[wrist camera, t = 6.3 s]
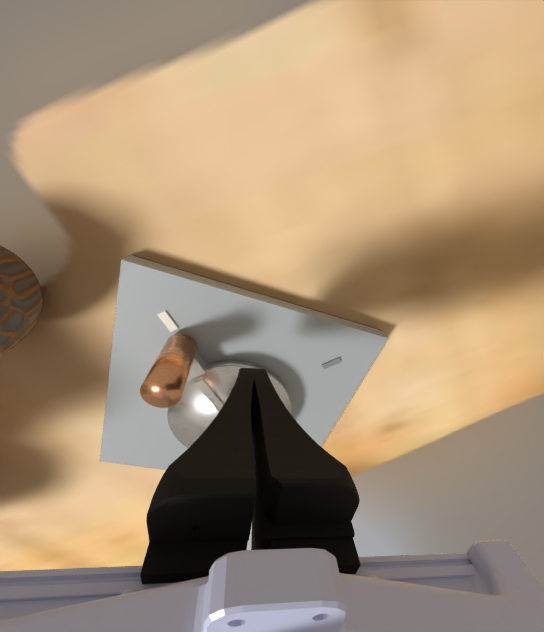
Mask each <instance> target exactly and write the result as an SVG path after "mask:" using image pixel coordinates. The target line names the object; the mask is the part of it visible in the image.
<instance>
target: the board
mask: <svg viewBox="0 0 544 632" xmlns="http://www.w3.org/2000/svg"><path fill="white" fill-rule="evenodd" d="M178 333H182V334H187V335H189V336H191V337H192V338H193V339H194V340H195V342H196V344H197V351H196V352H197V353H198V355H199V356H200V357H201V359H202V360H203V361H204V362H205V364H206V363H210V362H214V361H219V360H230V359H233V360H244V361H249V362H253V363H256V364H259V365H261V366H264V367H265V368H267V369H269V370H271V371H272V372H273V373H275V374H276V375H277V376H278V377H279V378H280V379H281V380H282V382H283V383H284V384H285V386H286V388H287V390H288V393H289V397H290V402H291V407H292V416H293V418H294V419H295V420H296V421H297V423H298V424H299V425H300V426H301V427H302V428H303V429H304V431H305V432H306V433H307V434H308V435H309V436H310V437H311V438H312V439H313V440H314V441H315V442H316V443H317V444H318V445H319V446H322V445H323V443H324V442H325V440H326V438H327V437H328V435H329V433H330V432H331V430H332V429H333V427H334V425H335V424H336V422H337V421H338V419H339V417H340V416H341V414H342V412H343V411H344V409H345V408H346V406H347V404H348V403H349V401H350V400H351V398H352V396H353V395H354V393H355V391H356V390H357V388H358V387H359V385H360V383H361V382H362V380H363V379H364V377H365V375H366V374H367V372H368V370H369V369H370V367H371V366H372V364H373V362H374V361H375V359H376V358H377V356H378V354H379V353H380V351H381V350H382V348H383V346H384V345H385V343H386V341H387V340H388V337H387V336H386V335H385V334H384V333H383V332H382V331H381V330H378V329H375V328H372V327H368V326H365V325H362V324H358V323H355V322H352V321H348V320H345V319H342V318H338V317H335V316H332V315H328V314H325V313H322V312H318V311H315V310H312V309H308V308H305V307H302V306H298V305H295V304H292V303H289V302H285V301H282V300H279V299H275V298H272V297H269V296H265V295H262V294H259V293H255V292H252V291H249V290H245V289H242V288H239V287H235V286H232V285H229V284H225V283H222V282H219V281H215V280H212V279H209V278H205V277H202V276H199V275H195V274H192V273H189V272H186V271H182V270H179V269H176V268H172V267H169V266H166V265H162V264H159V263H156V262H152V261H149V260H146V259H142V258H139V257H136V256H132V255H129V256H127V257H125V258H123V259H121V267H120V276H119V285H118V295H117V304H116V313H115V323H114V332H113V342H112V351H111V360H110V370H109V379H108V389H107V398H106V407H105V417H104V426H103V435H102V445H101V454H100V461H103V462H110V463H117V464H125V465H132V466H140V467H147V468H154V469H162V470H167V468H168V466H169V465H170V464H171V463H173V462H174V461H175V460H176V459H177V458H178V457H179V456H180V455H182V454H183V453H184V452H185V451H186V450H187V449H188V448H187V447H185V446H184V445H183V444H182V443H180V442H179V441H178V440H177V438H176V437H175V436H174V434H173V433H172V431H171V429H170V427H169V424H168V419H167V411H168V408H158V407H154V406H152V405H150V404H148V403H146V402H145V401H144V400H143V398H142V397H141V394H140V388H141V385H142V383H143V382H144V380H145V378H146V376H147V375H148V373H149V371H150V369H151V367H152V366H153V364H154V362H155V360H156V359H157V357H158V355H159V353H160V351H161V350H162V348H163V346H164V344H165V343H166V341H167V339H168V338H169V337H170V336H172V335H174V334H178Z"/></svg>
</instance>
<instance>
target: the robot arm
mask: <svg viewBox="0 0 544 632" xmlns="http://www.w3.org/2000/svg"><path fill="white" fill-rule="evenodd" d="M358 504H359V495H358V492H357V489H356V487H355V484H354V482H353V480H352V478H351V476H350V474H349V472H348V470H347V468H346V466H344V465H343V464H342V463H340V462H339V461H338V460H337V459H335V458H334V457H333V456H331V455H330V454H329V453H328V452H326V451H325V450H324V449H323V448H322V447H321V446H319V445H318V444H317V443H316V442H315V441H314V440H313V439H312V438H311V437H310V436H309V435H308V434H307V433H306V432H305V431H304V429H303V428H302V427H301V426H300V425H299V424H298V423H297V421H296V420H295V419H294V418H293V416H292V415H291V414H290V412H289V411H288V409H287V408H286V406H285V405H284V403H283V402H282V400H281V399H280V397H279V395H278V394H277V392H276V390H275V388H274V386H273V384H272V382H271V380H270V378H269V376H268V374H267V371H266V370H265V369H258V368H240V369H239V373H238V377H237V380H236V382H235V384H234V387H233V389H232V391H231V393H230V395H229V397H228V398H227V400H226V402H225V403H224V405H223V407H222V408H221V410H220V411H219V413H218V414H217V416H216V417H215V418H214V420H213V421H212V422H211V423H210V425H209V426H208V427H207V428H206V430H205V431H204V432H203V433H202V434H201V435H200V437H199V438H198V439H197V440H196V441H195V442H194V443H193V444H192V445H191V446H190V447H189V448H188V449H187V450H186V451H185V452H184V453H183V454H182V455H180V456H179V457H178V458H177V459H176V460H175V461H174V462H173V463H171V464H170V465H169V466H168V468H167V470H166V471H165V473H164V475H163V477H162V478H161V480H160V482H159V484H158V486H157V488H156V491H155V493H154V495H153V498H152V501H151V504H150V507H149V510H148V513H147V528H148V535H149V546H148V549H147V553H146V556H145V560H144V563H143V566H124V567H99V568H74V569H49V570H24V571H0V632H544V588H543V587H542V586H541V584H540V583H539V581H538V580H537V579H536V578H535V576H534V575H533V573H532V572H531V571H530V569H529V568H528V567H527V565H526V564H525V563H524V561H523V560H522V559H521V557H520V556H519V555H518V553H517V552H516V551H515V549H514V548H513V547H512V545H511V544H510V543H509V541H507V540H487V541H486V540H484V541H478V542H476V543H474V544H472V545H471V546H470V547H469V549H468V551H467V553H451V554H426V555H400V556H374V557H358V554H357V550H356V547H355V544H354V540H353V537H354V529H353V526H352V523H351V520H352V518H353V516H354V513H355V511H356V509H357V507H358ZM251 523H252V549H251V550H246V548H247V542H248V540H249V535H250V529H251Z"/></svg>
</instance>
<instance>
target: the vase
mask: <svg viewBox="0 0 544 632" xmlns="http://www.w3.org/2000/svg"><path fill="white" fill-rule="evenodd" d="M42 303H43V300H42V290H41V287H40V284H39V282H38V280H37V278H36V276H35V274H34V273H33V272H32V270H31V269H30V268H29V267H28V266H27V264H25V262H24V261H22V260H21V259H20V258H19V257H18V256H17V255H15V254H14V253H12V252H11V251H9V250H7V249H6V248H4V247H2V246H0V355H2V354H4V353H5V352H6V351H8V350H9V349H11V348H12V347H14V346H15V345H16V344H17V343H19V342H20V341H21V340H22V339H23V338H24V337H25V336H26V335H27V334H28V333H29V332H30V330H31V329H32V328H33V326H34V325H35V323H36V322H37V320H38V318H39V315H40V313H41V310H42Z"/></svg>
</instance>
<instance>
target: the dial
mask: <svg viewBox="0 0 544 632" xmlns="http://www.w3.org/2000/svg"><path fill="white" fill-rule="evenodd" d="M196 351H197V344H196V342H195V340H194V339H193V338H192V337H191V336H189V335H187V334H182V333H178V334H174V335H172V336H170V337H169V338H168V339H167V341H166V343H165V344H164V346H163V348H162V350H161V351H160V353H159V355H158V357H157V359H156V360H155V362H154V364H153V366H152V367H151V369H150V371H149V373H148V375H147V376H146V378H145V380H144V382H143V383H142V385H141V388H140V394H141V397H142V398H143V400H144V401H145V402H146V403H148V404H150V405H152V406H154V407H158V408H168V411H167V419H168V424H169V427H170V429H171V431H172V433H173V434H174V436H175V437H176V438H177V440H178V441H179V442H180V443H182V444H183V445H184V446H185V447H187V448H189V447H190V446H191V445H192V444H193V443H194V442H195V441H196V440H197V439H198V438H199V437H200V435H201V434H202V433H203V432H204V431H205V430H206V428H207V427H208V426H209V425H210V423H211V422H212V421H213V420H214V418H215V417H216V416H217V414H218V413H219V411H220V410H221V408H222V407H223V405H224V403H225V402H226V400H227V398H228V397H229V395H230V393H231V391H232V389H233V387H234V384H235V382H236V380H237V377H238V373H239V369H240V368H258V369H265V370H266V371H267V374H268V376H269V378H270V380H271V382H272V384H273V386H274V388H275V390H276V392H277V394H278V395H279V397H280V399H281V400H282V402H283V403H284V405H285V406H286V408H287V409H288V411H289V412H290V414H291V415H292V407H291V402H290V397H289V393H288V390H287V388H286V386H285V384H284V383H283V382H282V380H281V379H280V378H279V377H278V376H277V375H276V374H275V373H273V372H272V371H271V370H269V369H267V368H265V367H264V366H261V365H259V364H256V363H253V362H249V361H244V360H233V359H230V360H219V361H214V362H210V363H206V364H205V362H204V361H203V360H202V359H201V357H200V356H199V355H198V353H197V352H196Z"/></svg>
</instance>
